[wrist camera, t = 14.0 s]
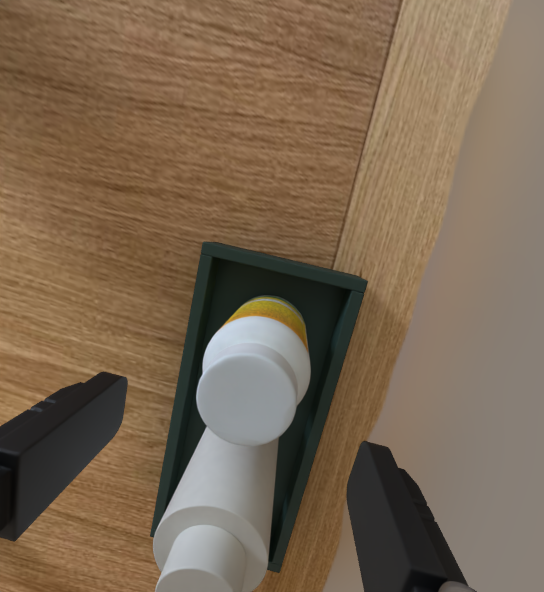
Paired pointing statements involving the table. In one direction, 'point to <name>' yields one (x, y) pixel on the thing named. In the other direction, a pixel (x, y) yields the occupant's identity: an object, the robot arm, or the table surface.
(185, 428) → the tray
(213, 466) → the white bottles
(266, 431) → the supplement bottle
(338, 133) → the table surface
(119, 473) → the table surface
